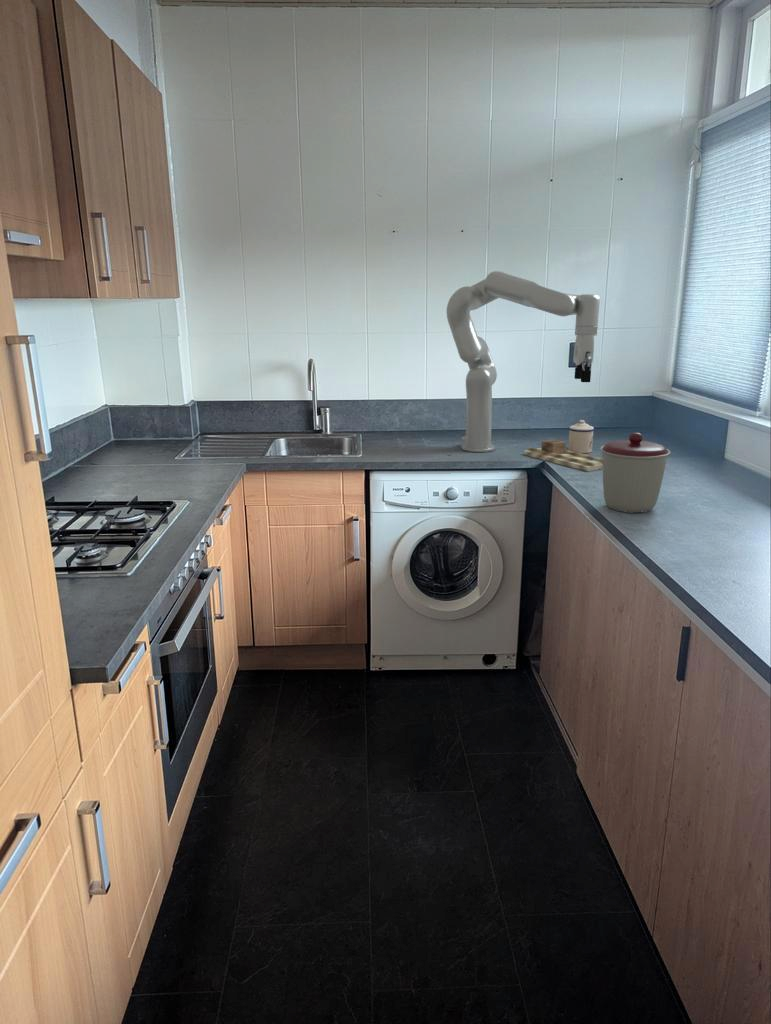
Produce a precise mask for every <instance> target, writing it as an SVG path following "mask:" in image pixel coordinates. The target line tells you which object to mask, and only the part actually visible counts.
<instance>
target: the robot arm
mask: <svg viewBox="0 0 771 1024" xmlns="http://www.w3.org/2000/svg"><path fill="white" fill-rule="evenodd" d="M497 299H502V300H506V301H509V302H512V303H515V304H519V305H522V306H524V307H528V308H533V309H536V310H538V311H539V310H540V311H543V312H545V313H549V314H553V315H556V316H559V317H568V316H573V315H575V328H574V336H575V341H574V348H573V349H574V350H573V357H572V359H573V360H572V362H573V363H574V364H575V367H574V379H575V380H580V382H581V383H591V379H592V378H591V377H592V364H593V361H594V352H595V349H594V348H595V336H598V328H599V327H598V326H599V325H598V324H599V315H600V314H599V313H600V303H601V302H600V301H601V299H600V296H599V295H598V294H591V293H590V294H589V293H588V294H587V293H586V294H585V293H584V294H580V295H579V294H573V293H572V294H571V293H564V292H560V291H557V290H553V289H550V288H547V287H545V286H541V285H540V284H539V283H538V284H537V283H536V282H534V281H533V280H532V281H531V280H528V279H526V278H522V277H518V276H515V275H512V274H509V273H506V272H504V271H497V270H494V271H491V272H489V273H488V274H487V276H486V277H485V278H484V279H483V280H481V281H478V282H477V283H474V284H472V285H471V286H470V285H469V286H462V287H460V288H458V289H457V290H456V291H455V292H454V293H453V294H452V295H451V296H450V298H449V300H448V302H447V305H446V319H447V322H448V326H449V329H450V331H451V335H452V337H453V341H454V343H455V346H456V349H457V353H458V356H459V358H460V359H461V360H462V361H463V362H464V363H465V364H466V363H467V365H468V368H469V371H468V372H467V374H466V377H465V389H466V391H465V392H466V405H465V406H466V413H465V415H466V419H465V420H466V421H465V423H466V425H465V435H464V436H462V437H461V440H462V441H464V444H462V445H461V449H462V450H463V451H465V452H471V453H485V452H492V451H495V448H496V447H495V445H494V444H493V443H492V419H493V418H492V415H493V393H492V391H493V390H492V389H493V388H492V387H493V385H494V384H495V383H496V380H497V378H498V373H497V369H496V366H495V363H494V360H493V356H492V354H491V351H490V348H489V346H488V344H487V342H486V341H485V339H483V338H482V337H481V336H478V333H477V330H476V328H475V324H474V321H473V320H472V318H471V313H470V312H471V311H475V310H477V309H480V308H482V307H483V306H486V305H487V304H490V303H491V302H493V301H495V300H497Z"/></svg>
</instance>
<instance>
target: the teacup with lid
mask: <svg viewBox="0 0 771 1024" xmlns="http://www.w3.org/2000/svg"><path fill="white" fill-rule="evenodd" d="M568 429H569V431H568V432H569V434H568V447H567V448H568V451H572V452H576V453H580V454H584V455H585V454H590V453H592V452H593V443H594V441H593V440H594V431H595V428H594V426H592V425H589V424H588V423H586V422H585V420H583V419H580V420H579V421H578V423H575V424H573V425H570V426H569V428H568Z"/></svg>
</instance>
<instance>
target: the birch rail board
mask: <svg viewBox="0 0 771 1024" xmlns="http://www.w3.org/2000/svg"><path fill="white" fill-rule="evenodd" d="M541 448H542V447H539V448H535V447H531V446H529V447H528V449H525V450H523V455H524V456H528V457H532V458H536V459H540V460H543V461H546V460H547V462H550V461H551V462H550V463H555V464H558V465H562V466H564V467H565V466H566V467H570V468H572V469H573V468H574V469H577V470H580V471H584V472H592V471H598V470H599V469H600V470H603V466H602V457H601V458H600V457H597V456H592V455H588V454H585V453H584V454H580V453H576V452H572V451H568V450H567V449H565V453H561V454H555V453H551V452H547V451H543V450H541Z"/></svg>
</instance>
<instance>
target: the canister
mask: <svg viewBox="0 0 771 1024" xmlns="http://www.w3.org/2000/svg"><path fill="white" fill-rule="evenodd" d="M643 438H644V437H643V435H642V434H641V433H640V432H631V434H629V435H628V439H623V440H622V439H621V440H614V441H610V442H607V443H606V444H604V445H602V446H600V447H599V451H600V452H601V459H602V466H603V469H602V485H603V487H602V488H603V498H604V502H605V504H606V506H607V507H608V508H610V509H612V510H614V511H617V510H619V511H618V512H621V511H626V512H625V513H629V512H641V513H643V512H642V511H647V512H649V511H648V510H650V509H651V510H653V509H654V507H655V506H656V504H657V502H658V499H659V494H660V490H661V486H662V482H663V479H664V475H665V469H666V464H667V459H668V456H669V455H671V450H670V449H668V448H666V447H665V446H664V445H663V444H659V443H656V442H653V441H652V442H651V441H646V440H643ZM651 510H650V511H651Z"/></svg>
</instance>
